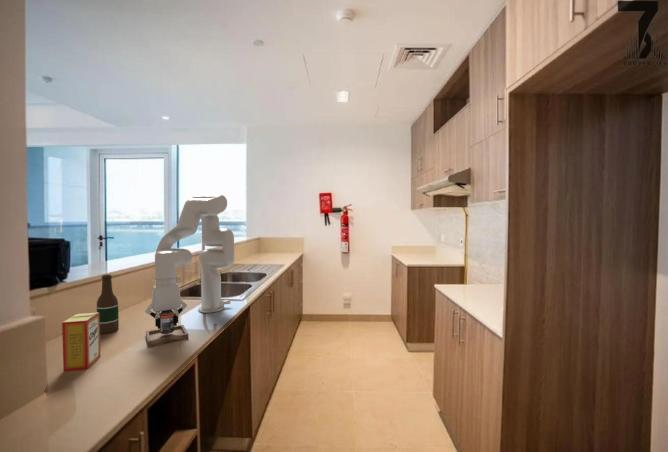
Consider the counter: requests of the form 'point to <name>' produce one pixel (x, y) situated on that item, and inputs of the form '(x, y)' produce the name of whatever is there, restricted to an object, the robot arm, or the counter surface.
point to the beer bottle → (107, 307)
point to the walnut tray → (166, 336)
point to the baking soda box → (81, 341)
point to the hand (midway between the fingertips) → (167, 325)
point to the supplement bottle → (167, 322)
